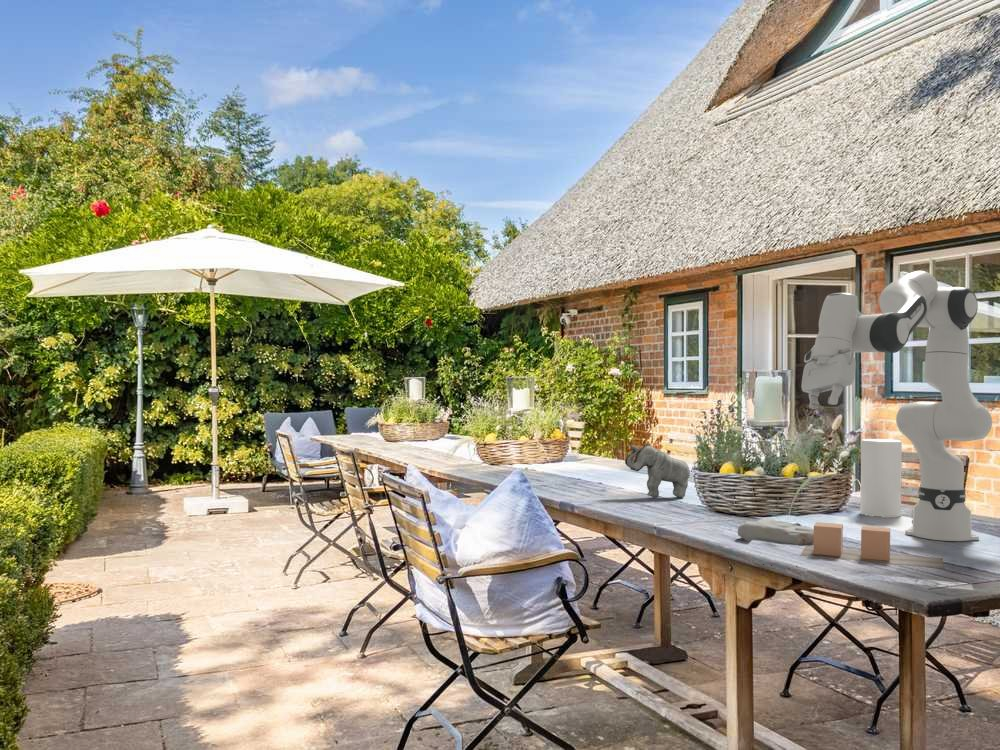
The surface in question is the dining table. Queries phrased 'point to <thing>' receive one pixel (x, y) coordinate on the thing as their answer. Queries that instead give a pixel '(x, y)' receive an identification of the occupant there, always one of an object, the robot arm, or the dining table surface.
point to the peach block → (828, 539)
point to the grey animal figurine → (659, 469)
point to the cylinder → (881, 477)
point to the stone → (776, 531)
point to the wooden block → (875, 543)
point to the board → (894, 559)
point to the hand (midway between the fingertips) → (822, 406)
